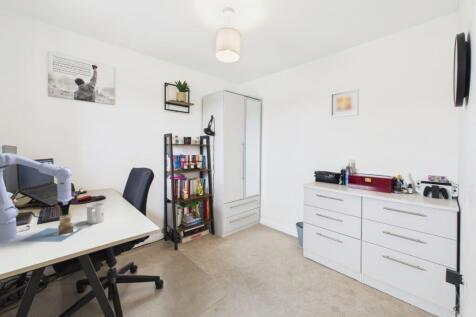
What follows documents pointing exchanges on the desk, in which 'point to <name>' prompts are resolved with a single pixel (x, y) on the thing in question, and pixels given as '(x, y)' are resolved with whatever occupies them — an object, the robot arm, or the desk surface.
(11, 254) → the desk surface
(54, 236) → the mat
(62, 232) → the walnut base
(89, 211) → the mug
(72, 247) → the desk surface
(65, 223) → the maple block
